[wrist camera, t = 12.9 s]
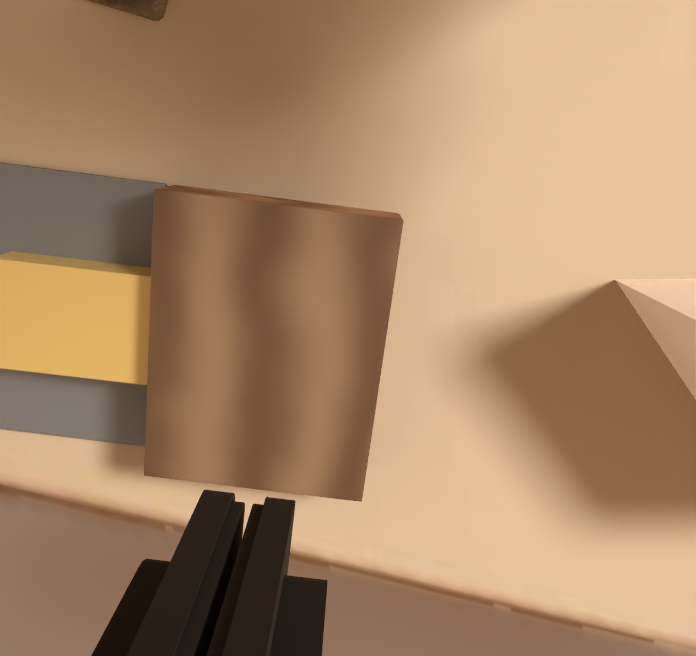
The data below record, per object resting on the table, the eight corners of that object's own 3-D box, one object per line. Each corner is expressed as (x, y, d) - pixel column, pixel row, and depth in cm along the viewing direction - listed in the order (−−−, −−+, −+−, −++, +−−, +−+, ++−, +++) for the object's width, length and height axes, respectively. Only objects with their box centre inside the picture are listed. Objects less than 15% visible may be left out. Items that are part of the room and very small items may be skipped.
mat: (166, 184, 38) (165, 184, 37) (156, 445, 43) (154, 447, 42) (-28, 159, 38) (-31, 159, 37) (-15, 424, 43) (-18, 426, 42)
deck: (399, 213, 38) (403, 220, 34) (361, 470, 43) (361, 501, 39) (174, 184, 38) (153, 188, 34) (163, 446, 43) (144, 475, 39)
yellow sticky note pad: (168, 269, 39) (155, 277, 37) (165, 372, 41) (152, 385, 39) (12, 251, 39) (-12, 257, 36) (16, 354, 41) (-6, 367, 38)
